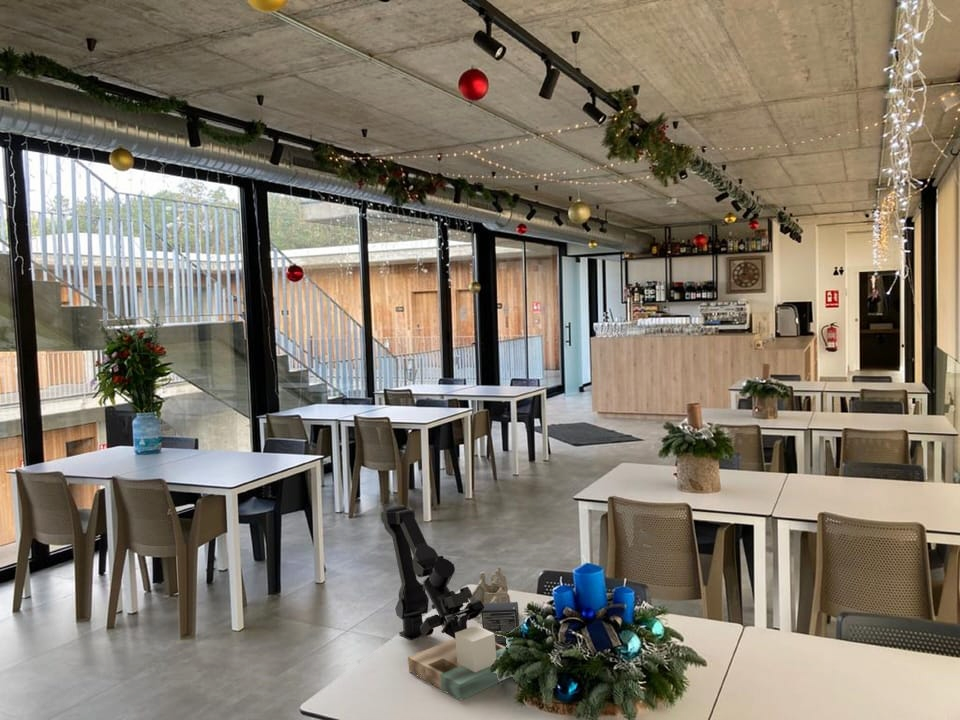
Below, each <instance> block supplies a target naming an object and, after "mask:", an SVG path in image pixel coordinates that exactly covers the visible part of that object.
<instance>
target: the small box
mask: <svg viewBox="0 0 960 720" xmlns="http://www.w3.org/2000/svg"><path fill="white" fill-rule="evenodd" d="M483 604H484V606H485V607H484V609H483V610H482V611H481V613H482V625H481V626H482V628H484V629H486V630H488V631H490V632H492V633H494V632H496V631H502V632H506V633H509V632H511V631H512V630H513V629H514V628H516V627H518V626H519V625H520V615H519V603H518V601H513V602H512V601H510V602H507V603H483ZM495 642H496V643H498V644H500V645H502V646H507V645H506V638H505V637H503V636H497V635H495Z"/></svg>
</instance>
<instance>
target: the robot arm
mask: <svg viewBox="0 0 960 720" xmlns="http://www.w3.org/2000/svg"><path fill="white" fill-rule="evenodd" d="M380 519H381V520H380V521H381V523H382V524H383V526H384V529H385V531H386V532H387V533H388V534H389V535H390V537H391V538H392V542H393V547H394V551H395V553H394V554H395V557H396V561H397V568H398V572H399V573H398V574H399V576H400V582H401V586H400V588H399V591H398V601H397V604H396V606H395V608H394V609H395V614H396V616H397V617H399V619H401V620H402V629H403V630H402V631H399V632H398V635H400V634H401V635H400V636H402V637H404V638H406V639H408V640H414V639H416V638H419V637H423V638H425V637H426V638H427V637H428V636H431V635H433V633H434V629H435V628H438V627H441V628H442V630H441V631H440V632H441V633H442V634H446V635H448V636H449V637H452V639H455V633H456V632H459V631H461V630H464V629H467V628H468V626H467V625H468V623H467V622H468V621H470V620H473V619H474V618H476V617H477V616H478V615H479V614H480V613H481V611H482V610H483V609H484V607H485V606H484V604H483V603H482V601H481V600H475V601H473V602H470V600H469V598H471V597H472V593H471V592H472V591H471V589H470V587H469V586H465V587H462V588H459V592H457V593H456V592H455V591H454V590H450V588H449V586H448V585H449V584H450V581H451V579H452V577H453V576H454V574H455V571H456V569H455V568H456V567H455V565H454V563H453V562H452V561H451V560H449V559H447V558H445V557H444V555H438V553H437V551H436V549H434V548H433V547H431V546H430V545H428V543H427V541H426V539H425V537H424V534H423V533H422V530H421V527H420V526H419V524H418V522H417V519H416V514H415V511H414V510H413V509H412V507H407V506H406V505H404V504H400V505H394V506H389V507H385V508H383V511H382V512H381V513H380ZM417 577H418V578H424V577H426V579H424V580H423V583H420V582H419V581H418V579H417ZM429 599H430V601H431V603H432V604H431V608H432V610H436V612H437V613H436V614H434V615H431V616H428V617H426V618H425V619H424V620H423V615H424V614H427V613H428V611H429V603H430V601H429ZM465 604H466V605H465ZM464 605H465V607H464ZM463 607H464V609H462V608H463Z"/></svg>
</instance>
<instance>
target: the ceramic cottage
mask: <svg viewBox="0 0 960 720" xmlns="http://www.w3.org/2000/svg"><path fill="white" fill-rule="evenodd" d="M508 591H509V589H508V585H507V575H506V574H503V573H502V567H501V566H500V565H499V566H498V567H497V569H495V572H494V573H491V574H490V584H488V583H487V580H486V572H485V571H481V572H480V573H479V582H478V583H477V586H475V588H474V590H472V591H471V593H472V597H471V598H469V599H468V600H469V603H470V602H473V601H475V600H481V601H482V603H507V602H511V597H510V595H509V593H508ZM473 621H475V622H476V621H477V622H476V623H478V624H479V623H480V625H481V624H482V613H480V614H479V615H478V616H477V617H476V618H474V620H473Z"/></svg>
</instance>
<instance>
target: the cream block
mask: <svg viewBox="0 0 960 720" xmlns="http://www.w3.org/2000/svg"><path fill="white" fill-rule="evenodd" d="M455 640H456V654H457V663H459V664H460V665H462V666H464V667H466V668H468V669H470V670H471V671H473V672H478V671H480V670H483V669H485V668H487V667H490V666H491V665H492V664H493V663H494V661H495V660H496V646H495V634H494V633H492V632H490V631H488V630H486V629H484V628H483V627H482V626H480V625H476V624H475V625H473V626H470V627H467V629H464V630H461V631H459V632H456V633H455Z"/></svg>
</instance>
